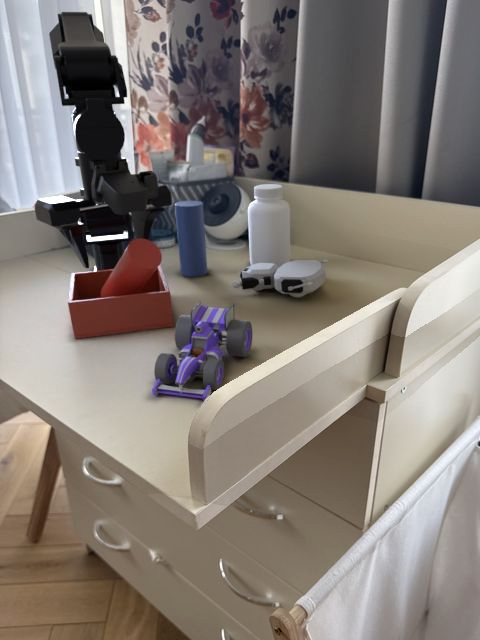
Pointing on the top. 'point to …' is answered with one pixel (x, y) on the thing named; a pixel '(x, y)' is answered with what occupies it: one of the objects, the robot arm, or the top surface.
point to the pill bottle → (269, 226)
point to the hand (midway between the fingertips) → (115, 260)
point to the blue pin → (191, 238)
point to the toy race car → (202, 350)
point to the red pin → (133, 269)
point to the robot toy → (284, 277)
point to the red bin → (117, 306)
